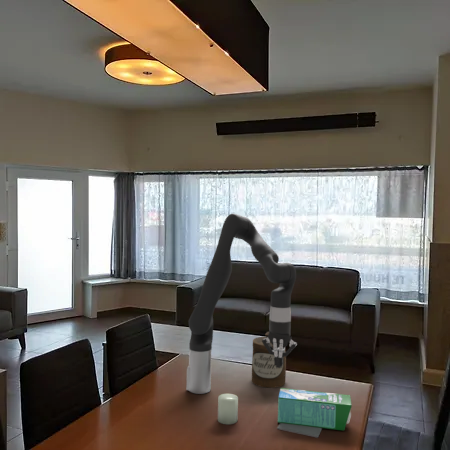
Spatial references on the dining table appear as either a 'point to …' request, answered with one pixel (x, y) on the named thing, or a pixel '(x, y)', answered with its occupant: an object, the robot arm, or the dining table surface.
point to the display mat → (300, 429)
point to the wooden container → (266, 366)
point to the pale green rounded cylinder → (227, 408)
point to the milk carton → (314, 408)
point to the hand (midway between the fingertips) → (278, 366)
